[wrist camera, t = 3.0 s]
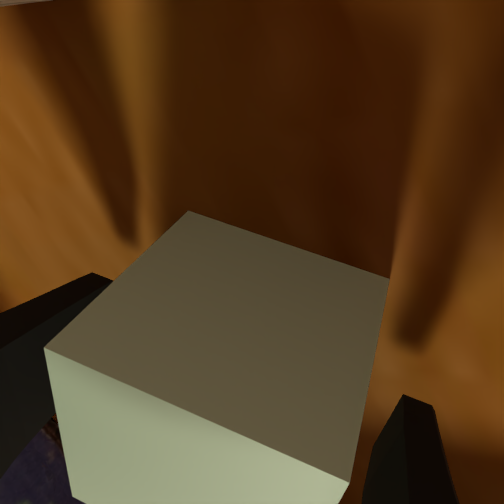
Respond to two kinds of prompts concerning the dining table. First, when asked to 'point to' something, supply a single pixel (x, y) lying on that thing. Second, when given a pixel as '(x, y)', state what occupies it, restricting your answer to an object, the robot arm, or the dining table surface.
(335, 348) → the green cube
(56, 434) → the flask
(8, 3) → the cream cube
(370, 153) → the dining table surface
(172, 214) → the dining table surface
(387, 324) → the dining table surface
